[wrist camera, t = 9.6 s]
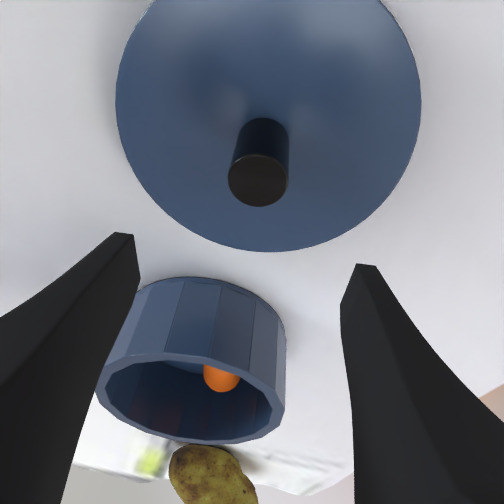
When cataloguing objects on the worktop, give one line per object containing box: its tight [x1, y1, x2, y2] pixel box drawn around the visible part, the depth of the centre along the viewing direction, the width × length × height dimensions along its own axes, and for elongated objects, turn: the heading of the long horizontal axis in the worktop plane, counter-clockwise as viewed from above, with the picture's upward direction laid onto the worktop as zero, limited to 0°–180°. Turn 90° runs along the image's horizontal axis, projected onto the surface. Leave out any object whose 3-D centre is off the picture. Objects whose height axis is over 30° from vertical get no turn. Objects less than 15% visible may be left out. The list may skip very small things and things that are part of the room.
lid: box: [115, 0, 421, 252], centre depth 16 cm, size 14×14×5 cm
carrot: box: [203, 364, 241, 392], centre depth 27 cm, size 8×3×3 cm
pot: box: [95, 277, 286, 445], centre depth 27 cm, size 13×13×6 cm
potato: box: [169, 444, 258, 504], centre depth 44 cm, size 8×13×8 cm, turn 22°
